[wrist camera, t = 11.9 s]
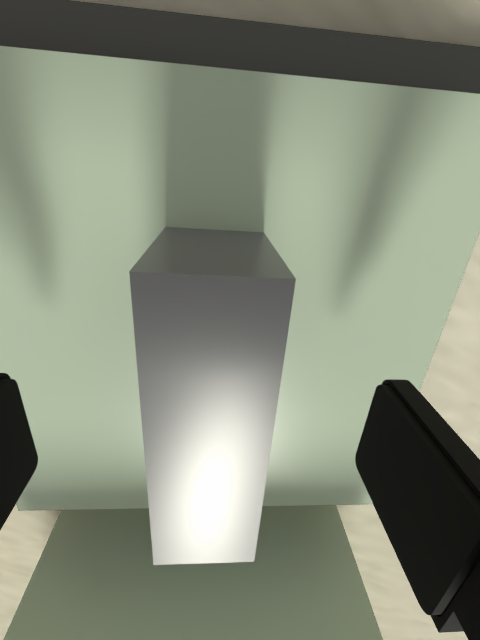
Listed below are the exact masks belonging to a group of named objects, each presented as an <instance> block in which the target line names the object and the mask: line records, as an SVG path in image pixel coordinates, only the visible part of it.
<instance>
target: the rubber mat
mask: <svg viewBox="0 0 480 640" xmlns="http://www.w3.org/2000/svg"><path fill="white" fill-rule="evenodd" d="M0 46H7V47H17V48H27V49H37V50H47V51H57V52H67V53H77V54H87V55H97V56H107V57H117V58H127V59H137V60H147V61H157V62H167V63H177V64H187V65H197V66H207V67H217V68H227V69H237V70H247V71H257V72H267V73H277V74H286V75H296V76H306V77H316V78H326V79H336V80H346V81H356V82H366V83H376V84H386V85H396V86H406V87H416V88H426V89H436V90H446V91H456V92H466V93H476V94H480V47H475V46H466V45H457V44H448V43H440V42H431V41H422V40H413V39H404V38H395V37H387V36H378V35H369V34H360V33H351V32H343V31H334V30H325V29H316V28H307V27H298V26H290V25H281V24H272V23H263V22H254V21H245V20H237V19H228V18H219V17H210V16H201V15H193V14H184V13H175V12H166V11H157V10H148V9H140V8H131V7H122V6H113V5H104V4H95V3H87V2H78V1H69V0H0Z"/></svg>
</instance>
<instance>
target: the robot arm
mask: <svg viewBox="0 0 480 640" xmlns="http://www.w3.org/2000/svg"><path fill="white" fill-rule="evenodd" d="M355 463H356V467H357V470H358V472H359V474H360V476H361V479H362V481H363V483H364V485H365V487H366V489H367V492H368V494H369V496H370V498H371V500H372V502H373V505H374V507H375V509H376V511H377V513H378V515H379V518H380V520H381V522H382V524H383V526H384V529H385V531H386V533H387V535H388V537H389V539H390V542H391V544H392V546H393V548H394V550H395V552H396V555H397V557H398V559H399V561H400V563H401V565H402V568H403V570H404V572H405V574H406V576H407V579H408V581H409V583H410V585H411V587H412V589H413V592H414V594H415V596H416V598H417V600H418V602H419V604H420V606H421V608H422V609H423V611H424V612H425V613H426V614H427V615H431V617H432V619H433V621H434V623H435V625H436V628H437V630H438V632H439V633H440V632H458V631H464V632H465V634H466V636H467V638H468V640H480V460H479V458H478V457H477V456H476V455H475V454H474V453H473V452H472V451H471V449H470V448H469V447H468V446H467V445H466V444H465V443H464V442H463V440H462V439H461V438H460V437H459V436H458V435H457V434H456V433H455V431H454V430H453V429H452V428H451V427H450V426H449V425H448V424H447V422H446V421H445V420H444V419H443V418H442V417H441V416H440V415H439V413H438V412H437V411H436V410H435V409H434V408H433V407H432V406H431V404H430V403H429V402H428V401H427V400H426V399H425V398H424V397H423V395H422V394H421V393H420V392H419V391H418V390H417V389H416V388H415V386H414V385H413V384H412V383H411V382H410V381H408V380H395V379H387V380H384V381H383V382H382V384H381V385H378V386H377V387H376V389H375V393H374V396H373V399H372V402H371V406H370V409H369V412H368V416H367V419H366V422H365V425H364V429H363V432H362V435H361V439H360V442H359V445H358V448H357V452H356V455H355ZM37 464H38V455H37V451H36V448H35V444H34V441H33V437H32V434H31V430H30V426H29V423H28V419H27V416H26V412H25V409H24V405H23V401H22V398H21V394H20V391H19V387H18V384H17V382H16V380H14V379H11V378H10V376H9V375H8V374H6V373H0V530H1V528H2V526H3V525H4V523H5V521H6V520H7V518H8V516H9V514H10V513H11V511H12V509H13V508H14V506H15V504H16V503H17V501H18V499H19V498H20V496H21V494H22V493H23V491H24V489H25V487H26V486H27V484H28V482H29V481H30V479H31V477H32V476H33V474H34V472H35V470H36V467H37Z"/></svg>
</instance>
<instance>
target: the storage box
mask: <svg viewBox="0 0 480 640" xmlns="http://www.w3.org/2000/svg"><path fill="white" fill-rule="evenodd" d="M4 640H383V638H382V636H381V633H380V630H379V627H378V624H377V621H376V618H375V616H374V613H373V610H372V607H371V604H370V601H369V598H368V596H367V593H366V590H365V587H364V584H363V581H362V578H361V575H360V573H359V570H358V567H357V564H356V561H355V558H354V555H353V553H352V550H351V547H350V544H349V541H348V538H347V535H346V533H345V530H344V527H343V524H342V521H341V518H340V515H339V512H338V510H337V507H336V505H303V506H262V512H261V519H260V526H259V532H258V539H257V546H256V553H255V559H254V562H233V563H202V564H172V565H154V564H153V552H152V540H151V528H150V516H149V508H136V509H81V510H61V513H60V515H59V517H58V519H57V521H56V524H55V526H54V528H53V530H52V533H51V535H50V537H49V539H48V542H47V544H46V546H45V548H44V550H43V553H42V555H41V557H40V559H39V562H38V564H37V566H36V568H35V571H34V573H33V575H32V577H31V579H30V582H29V584H28V586H27V588H26V591H25V593H24V595H23V597H22V600H21V602H20V604H19V606H18V609H17V611H16V613H15V615H14V617H13V620H12V622H11V624H10V626H9V629H8V631H7V633H6V635H5V638H4Z"/></svg>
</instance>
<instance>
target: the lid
mask: <svg viewBox="0 0 480 640" xmlns="http://www.w3.org/2000/svg"><path fill="white" fill-rule="evenodd" d="M479 232H480V94H476V93H466V92H456V91H446V90H436V89H426V88H416V87H406V86H396V85H386V84H376V83H366V82H356V81H346V80H336V79H326V78H316V77H306V76H296V75H286V74H277V73H267V72H257V71H247V70H237V69H227V68H217V67H207V66H197V65H187V64H177V63H167V62H157V61H147V60H137V59H127V58H117V57H107V56H97V55H87V54H77V53H67V52H57V51H47V50H37V49H27V48H17V47H7V46H0V373H6V374H8V375H9V376H10V378H11V379H14V380H16V382H17V384H18V387H19V391H20V394H21V398H22V401H23V405H24V409H25V412H26V416H27V419H28V423H29V426H30V430H31V434H32V437H33V441H34V444H35V448H36V451H37V455H38V464H37V467H36V470H35V472H34V474H33V476H32V477H31V479H30V481H29V482H28V484H27V486H26V487H25V489H24V491H23V493H22V494H21V496H20V498H19V499H18V501H17V503H16V505H17V508H18V511H25V510H81V509H136V508H149V516H150V528H151V540H152V552H153V564H154V565H172V564H202V563H233V562H254V559H255V553H256V546H257V539H258V532H259V526H260V519H261V512H262V506H303V505H359V504H373V502H372V500H371V498H370V496H369V494H368V492H367V489H366V487H365V485H364V483H363V481H362V479H361V476H360V474H359V472H358V470H357V467H356V463H355V455H356V452H357V448H358V445H359V442H360V439H361V435H362V432H363V429H364V425H365V422H366V419H367V416H368V412H369V409H370V406H371V402H372V399H373V396H374V393H375V389H376V387H377V386H378V385H381V384H382V382H383V381H384V380H387V379H395V380H408V381H410V382H411V383H412V384H413V385H414V386H415V388H416V389H417V390H418V391H420V388H421V386H422V383H423V380H424V378H425V375H426V372H427V370H428V367H429V364H430V362H431V359H432V356H433V354H434V351H435V349H436V346H437V343H438V341H439V338H440V335H441V333H442V330H443V327H444V325H445V322H446V319H447V317H448V314H449V312H450V309H451V306H452V304H453V301H454V298H455V296H456V293H457V290H458V288H459V285H460V283H461V280H462V277H463V275H464V272H465V269H466V267H467V264H468V261H469V259H470V256H471V253H472V251H473V248H474V246H475V243H476V240H477V238H478V235H479Z"/></svg>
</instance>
